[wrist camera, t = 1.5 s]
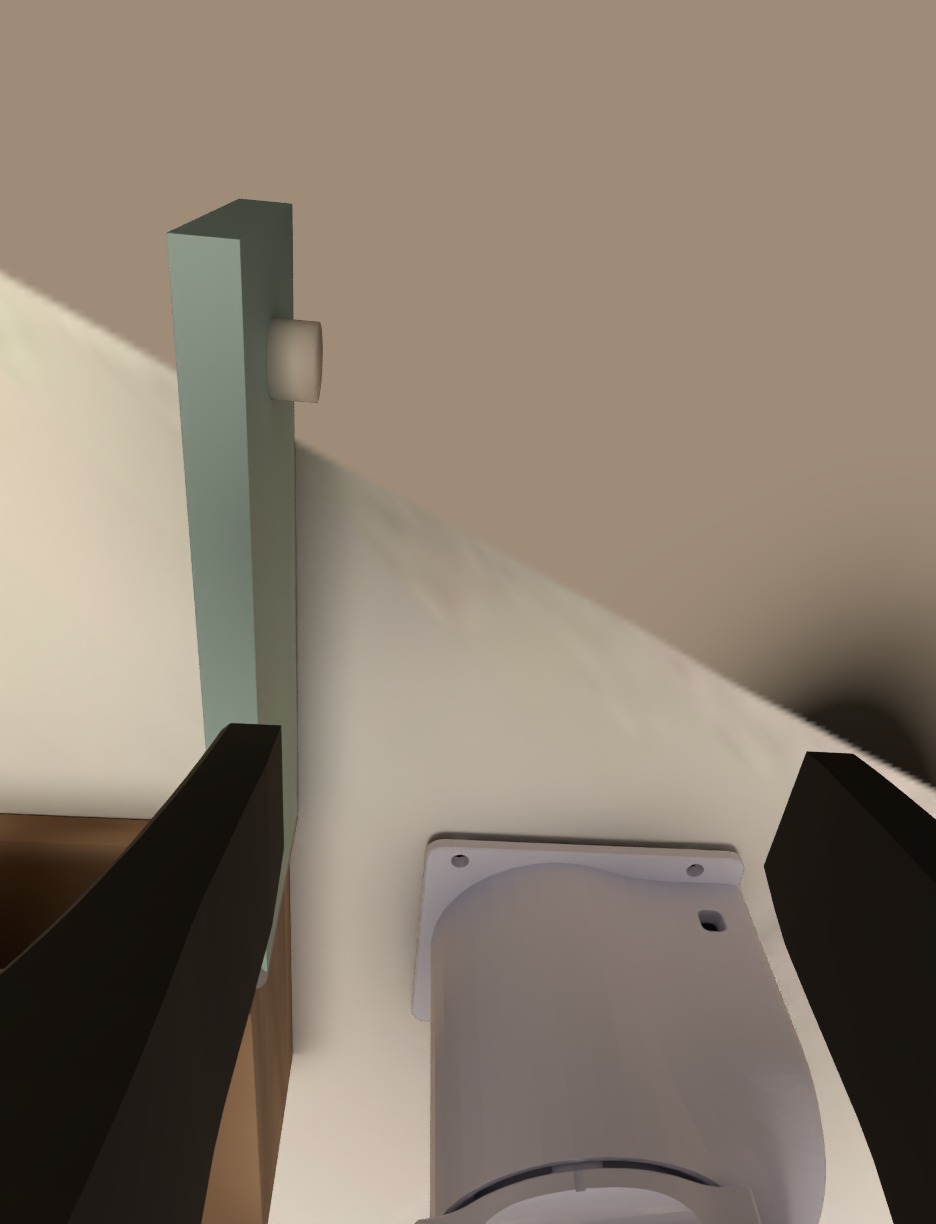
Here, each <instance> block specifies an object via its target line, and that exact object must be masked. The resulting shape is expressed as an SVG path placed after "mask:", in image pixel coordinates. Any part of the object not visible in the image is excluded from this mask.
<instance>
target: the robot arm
mask: <svg viewBox="0 0 936 1224" xmlns="http://www.w3.org/2000/svg"><path fill="white" fill-rule="evenodd" d="M283 852H284V819H283V774H282V730H281V725H265V724H245V723H230V724H228V725H227V726H226V727H224V728H223V729H222V730H221V731H220V733H219V734H218V735H217V737H216V738H215V740H214V741H213V742H212V744H211V745H210V747H209V748H208V749H207V751H206V752H205V753H204V755H203V756H202V757H201V759H200V760H199V761H198V763H197V764H196V765H195V767H194V768H193V769H192V770H191V772H190V773H189V774H188V776H187V777H186V778H185V779H184V781H183V782H182V783H181V784H180V785H179V787H178V788H177V789H176V790H175V792H174V793H173V794H172V795H171V797H170V798H169V799H168V800H167V802H166V803H165V804H164V805H163V806H162V807H161V809H160V810H159V811H158V812H157V813H156V814H155V815H154V817H153V818H152V819H151V820H150V821H149V822H148V824H147V825H146V826H145V827H144V828H143V829H142V831H141V832H140V833H139V834H138V835H137V836H136V838H135V839H134V840H133V841H132V842H131V843H130V844H129V846H128V847H127V848H126V849H125V850H124V851H123V852H122V853H121V854H120V855H119V857H118V858H117V859H116V860H115V861H114V862H113V863H112V864H111V865H110V866H109V867H108V868H107V869H106V870H105V871H104V872H103V873H102V874H101V875H100V876H99V877H98V878H97V879H96V880H95V882H94V883H93V884H92V885H91V886H90V887H89V888H88V889H87V890H86V891H85V892H84V893H83V894H82V895H81V896H80V897H79V898H78V899H77V900H76V901H75V902H74V903H73V904H72V905H71V906H70V907H69V908H68V909H67V910H66V911H65V912H64V913H63V914H62V915H61V916H60V917H59V918H58V919H57V920H56V921H55V922H54V923H53V924H52V925H51V926H50V927H49V928H48V929H47V930H46V931H45V932H44V933H43V934H42V935H40V936H39V937H38V938H37V939H36V940H35V941H34V942H33V943H32V944H31V945H30V946H29V947H28V948H26V949H25V950H24V951H23V952H22V953H21V954H20V955H19V956H18V957H16V958H15V959H14V960H13V961H12V962H11V963H10V964H9V965H7V966H6V967H5V968H4V969H3V970H2V971H1V972H0V1224H201V1223H202V1217H203V1211H204V1206H205V1200H206V1194H207V1189H208V1183H209V1177H210V1172H211V1166H212V1160H213V1155H214V1150H215V1145H216V1141H217V1136H218V1132H219V1128H220V1123H221V1119H222V1114H223V1110H224V1106H225V1102H226V1098H227V1095H228V1091H229V1087H230V1083H231V1080H232V1076H233V1072H234V1068H235V1065H236V1061H237V1057H238V1053H239V1050H240V1046H241V1042H242V1038H243V1035H244V1031H245V1027H246V1024H247V1020H248V1016H249V1012H250V1009H251V1005H252V1001H253V997H254V994H255V990H256V986H257V982H258V978H259V975H260V971H261V967H262V963H263V959H264V956H265V952H266V948H267V944H268V940H269V936H270V933H271V929H272V925H273V918H274V912H275V905H276V899H277V893H278V886H279V879H280V872H281V866H282V859H283ZM456 855H465V856H464V857H455V856H456ZM694 864H697V865H695V866H692V867H689V866H691V865H694ZM764 869H765V873H766V877H767V881H768V885H769V889H770V893H771V897H772V901H773V905H774V908H775V912H776V915H777V919H778V922H779V926H780V929H781V932H782V936H783V939H784V943H785V945H786V948H787V950H788V953H789V955H790V958H791V960H792V963H793V965H794V968H795V970H796V972H797V975H798V977H799V980H800V982H801V985H802V987H803V989H804V992H805V994H806V997H807V999H808V1002H809V1004H810V1006H811V1009H812V1011H813V1013H814V1016H815V1018H816V1020H817V1023H818V1025H819V1028H820V1030H821V1032H822V1035H823V1037H824V1039H825V1042H826V1044H827V1046H828V1049H829V1051H830V1054H831V1056H832V1058H833V1061H834V1063H835V1065H836V1068H837V1070H838V1073H839V1075H840V1077H841V1080H842V1082H843V1084H844V1087H845V1089H846V1092H847V1094H848V1096H849V1099H850V1101H851V1103H852V1106H853V1108H854V1110H855V1113H856V1115H857V1118H858V1120H859V1123H860V1125H861V1128H862V1131H863V1133H864V1136H865V1139H866V1141H867V1144H868V1147H869V1149H870V1152H871V1155H872V1157H873V1160H874V1163H875V1166H876V1169H877V1172H878V1176H879V1179H880V1182H881V1185H882V1188H883V1191H884V1195H885V1198H886V1201H887V1204H888V1207H889V1210H890V1214H891V1217H892V1220H893V1223H894V1224H936V819H935V818H934V817H932V816H931V815H930V814H929V813H927V812H926V811H925V810H924V809H923V808H921V807H920V806H919V805H918V804H917V803H915V802H914V801H913V800H912V799H910V798H909V797H908V796H907V795H906V794H904V793H903V792H902V791H901V790H899V789H898V788H897V787H896V786H895V785H893V784H892V783H891V782H890V781H888V780H887V779H886V778H885V777H883V776H882V775H881V774H880V773H878V772H877V771H876V770H874V769H873V768H872V767H870V766H869V765H868V764H866V763H865V762H864V761H862V760H861V759H860V758H858V757H857V756H856V755H854V754H848V753H828V752H808V751H807V752H806V755H805V757H804V760H803V763H802V765H801V768H800V771H799V773H798V776H797V779H796V781H795V784H794V787H793V789H792V792H791V795H790V797H789V800H788V803H787V805H786V808H785V811H784V813H783V816H782V819H781V821H780V824H779V827H778V829H777V832H776V835H775V837H774V840H773V843H772V845H771V848H770V851H769V853H768V856H767V859H766V861H765V864H764ZM743 872H744V865H743V863H742V860H741V858H740V856H739V855H738V854H736V853H735V852H731V851H717V850H693V849H669V848H645V847H621V846H597V845H573V844H550V843H526V842H502V841H478V840H454V839H440V840H436V841H433V842H431V843H430V844H429V845H428V846H427V849H426V854H425V864H424V875H423V886H422V897H421V907H420V918H419V929H418V940H417V950H416V961H415V972H414V983H413V993H412V1008H411V1011H412V1015H413V1016H414V1017H415V1018H417V1019H419V1020H422V1021H431V1093H430V1218H428V1219H421V1220H418V1221H417V1222H416V1223H415V1224H818V1223H819V1220H820V1217H821V1212H822V1207H823V1201H824V1193H825V1181H826V1160H825V1147H824V1138H823V1130H822V1124H821V1117H820V1111H819V1106H818V1101H817V1097H816V1092H815V1088H814V1084H813V1080H812V1077H811V1073H810V1070H809V1066H808V1063H807V1060H806V1058H805V1055H804V1052H803V1049H802V1047H801V1044H800V1041H799V1039H798V1036H797V1034H796V1031H795V1029H794V1026H793V1024H792V1021H791V1019H790V1016H789V1013H788V1011H787V1008H786V1006H785V1003H784V1001H783V998H782V996H781V993H780V991H779V988H778V985H777V983H776V980H775V978H774V975H773V973H772V970H771V968H770V965H769V963H768V960H767V957H766V955H765V952H764V950H763V947H762V945H761V942H760V940H759V937H758V934H757V932H756V929H755V927H754V924H753V922H752V919H751V917H750V914H749V912H748V909H747V906H746V904H745V901H744V899H743V896H742V894H741V891H740V889H739V887H738V886H739V883H740V880H741V877H742V875H743Z"/></svg>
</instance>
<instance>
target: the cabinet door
mask: <svg viewBox="0 0 936 1224" xmlns="http://www.w3.org/2000/svg"><path fill="white" fill-rule="evenodd" d="M292 230H293V229H292V204H288V203H278V202H267V201H256V200H247V199H238V200H235V201H233V202H231V203H229V204H227V205H225V206H223V207H221V208H218V209H216V210H214V211H212V212H210V213H208V214H206V215H204V216H201V217H200V218H197V219H195V220H193V221H191V222H189V223H187V224H184V225H182V226H180V227H178V228H176V229H174V230H171V231H169V232H167V247H168V259H169V273H170V286H171V299H172V312H173V325H174V338H175V351H176V365H177V378H178V391H179V404H180V417H181V430H182V443H183V456H184V469H185V483H186V496H187V509H188V522H189V535H190V548H191V561H192V574H193V587H194V600H195V614H196V627H197V640H198V653H199V666H200V679H201V692H202V705H203V718H204V731H205V745H206V751H207V749H208V748H209V747H210V745H211V744H212V742H213V741H214V740H215V738H216V737H217V735H218V734H219V733H220V731H221V730H222V729H223V728H224V727H226V726H227V725H228V724H230V723H245V724H265V725H281V730H282V774H283V819H284V852H283V859H282V866H281V872H280V879H279V886H278V893H277V899H276V905H275V912H274V918H273V925H272V929H271V933H270V936H269V940H268V944H267V948H266V952H265V956H264V959H263V963H262V967H261V971H260V975H259V978H258V982H257V986H256V989H258V988H260V987H262V986H263V985H264V984H265V983H266V981H267V977H268V972H269V967H270V961H271V956H272V951H273V946H274V940H275V935H276V930H277V925H278V919H279V914H280V909H281V904H282V898H283V893H284V888H285V883H286V877H287V872H288V867H289V862H290V856H291V851H292V846H293V841H294V835H295V830H296V825H297V820H298V815H297V813H298V790H297V678H296V566H295V454H294V401H300V402H312V403H317V402H318V400H319V395H320V388H321V377H322V353H323V352H322V351H323V350H322V349H323V347H322V329H321V324H320V322H314V321H302V320H293V238H292V237H293V231H292Z"/></svg>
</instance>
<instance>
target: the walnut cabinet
mask: <svg viewBox="0 0 936 1224" xmlns="http://www.w3.org/2000/svg"><path fill="white" fill-rule="evenodd" d="M149 821H150V820H130V819H106V818H82V817H59V816H35V815H12V814H0V972H1V971H2V970H3V969H4V968H5V967H6V966H7V965H9V964H10V963H11V962H12V961H13V960H14V959H15V958H16V957H18V956H19V955H20V954H21V953H22V952H23V951H24V950H25V949H26V948H28V947H29V946H30V945H31V944H32V943H33V942H34V941H35V940H36V939H37V938H38V937H39V936H40V935H42V934H43V933H44V932H45V931H46V930H47V929H48V928H49V927H50V926H51V925H52V924H53V923H54V922H55V921H56V920H57V919H58V918H59V917H60V916H61V915H62V914H63V913H64V912H65V911H66V910H67V909H68V908H69V907H70V906H71V905H72V904H73V903H74V902H75V901H76V900H77V899H78V898H79V897H80V896H81V895H82V894H83V893H84V892H85V891H86V890H87V889H88V888H89V887H90V886H91V885H92V884H93V883H94V882H95V880H96V879H97V878H98V877H99V876H100V875H101V874H102V873H103V872H104V871H105V870H106V869H107V868H108V867H109V866H110V865H111V864H112V863H113V862H114V861H115V860H116V859H117V858H118V857H119V855H120V854H121V853H122V852H123V851H124V850H125V849H126V848H127V847H128V846H129V844H130V843H131V842H132V841H133V840H134V839H135V838H136V836H137V835H138V834H139V833H140V832H141V831H142V829H143V828H144V827H145V826H146V825H147V824H148V822H149ZM291 1063H292V994H291V932H290V869H289V867H288V872H287V877H286V883H285V888H284V893H283V898H282V904H281V909H280V914H279V919H278V925H277V930H276V935H275V940H274V946H273V951H272V956H271V961H270V967H269V972H268V977H267V981H266V983H265V984H264V985H263V986H262V987H260V988H258V989H256V990H255V994H254V997H253V1001H252V1005H251V1009H250V1012H249V1016H248V1020H247V1024H246V1027H245V1031H244V1035H243V1038H242V1042H241V1046H240V1050H239V1053H238V1057H237V1061H236V1065H235V1068H234V1072H233V1076H232V1080H231V1083H230V1087H229V1091H228V1095H227V1098H226V1102H225V1106H224V1110H223V1114H222V1119H221V1123H220V1128H219V1132H218V1136H217V1141H216V1145H215V1150H214V1155H213V1160H212V1166H211V1172H210V1177H209V1183H208V1189H207V1194H206V1200H205V1206H204V1211H203V1217H202V1223H201V1224H268V1218H269V1211H270V1205H271V1198H272V1191H273V1184H274V1178H275V1171H276V1164H277V1157H278V1151H279V1144H280V1137H281V1130H282V1124H283V1117H284V1110H285V1103H286V1097H287V1090H288V1083H289V1076H290V1070H291Z"/></svg>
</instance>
